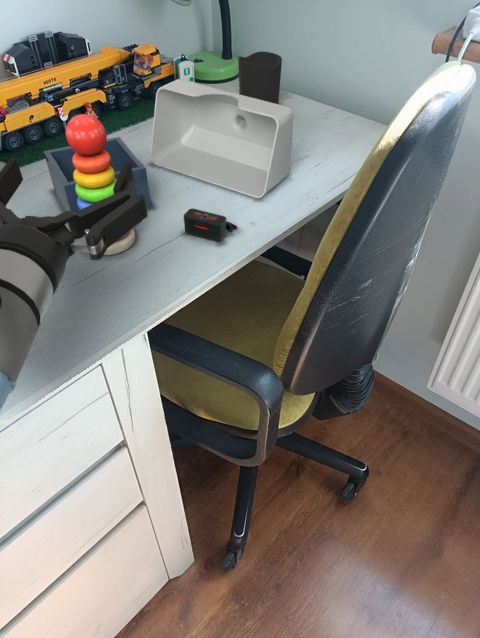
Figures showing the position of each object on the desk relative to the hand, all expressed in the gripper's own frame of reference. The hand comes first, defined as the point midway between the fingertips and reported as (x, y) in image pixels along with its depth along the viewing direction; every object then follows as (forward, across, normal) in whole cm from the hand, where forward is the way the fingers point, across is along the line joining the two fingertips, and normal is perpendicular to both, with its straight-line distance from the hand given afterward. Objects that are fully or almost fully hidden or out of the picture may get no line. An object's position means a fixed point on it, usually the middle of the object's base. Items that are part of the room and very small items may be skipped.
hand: (73, 170), depth 63 cm
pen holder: (+63, +22, -15) cm, 68 cm away
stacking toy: (+7, 0, -15) cm, 17 cm away
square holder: (+20, -4, -15) cm, 25 cm away
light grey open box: (+34, +17, -15) cm, 41 cm away
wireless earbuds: (+10, +16, -15) cm, 24 cm away
